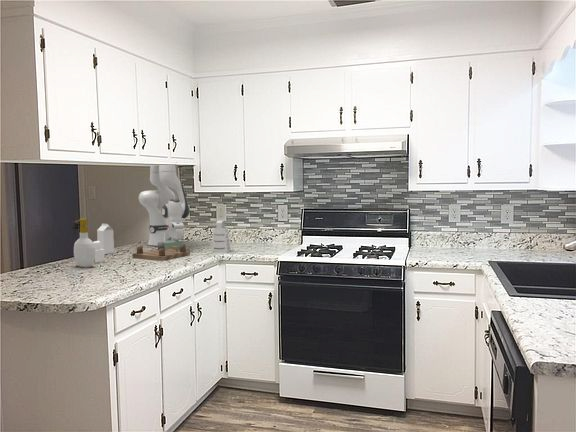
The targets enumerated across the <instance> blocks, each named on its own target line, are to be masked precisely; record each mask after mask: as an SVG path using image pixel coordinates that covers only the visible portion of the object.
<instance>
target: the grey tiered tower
mask: <svg viewBox="0 0 576 432" xmlns="http://www.w3.org/2000/svg"><path fill="white" fill-rule="evenodd" d="M225 222H226V221H225V220H217V221H216V223H215V225H216V227H213V230H212V232H213V233H212V240H211V248H210V249H211V250H210V253H213V254H218V253H219V254H222V253H223V254H227V253H229V252H230V251H231V249H232V248H231V242H230V241H231V240H230V235H229V228H228V226H226V224H225Z"/></svg>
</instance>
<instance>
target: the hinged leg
mask: <svg viewBox="0 0 576 432" xmlns="http://www.w3.org/2000/svg"><path fill="white" fill-rule="evenodd" d="M180 245H186V241H185V240H178V241H173V242H158V245H157V249H160V248H165V249H171V247H172V246H175V247H178V249H180Z"/></svg>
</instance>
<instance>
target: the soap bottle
mask: <svg viewBox="0 0 576 432" xmlns="http://www.w3.org/2000/svg"><path fill="white" fill-rule="evenodd" d="M87 220H88V219H87V218H79V219H78V220H76V221H75V223H77V222H79V224H80V226H79V238H78V239H77V240H75V242H74V245H73V257H74V261H75V263H76V265H77V266H78V267H81V268H91V267H92V266H93V265H94V264H95V263H94V259H95V246H94V243H93V242H92V241H93V240H92V239H90V238H89V233H88V226H87Z"/></svg>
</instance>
